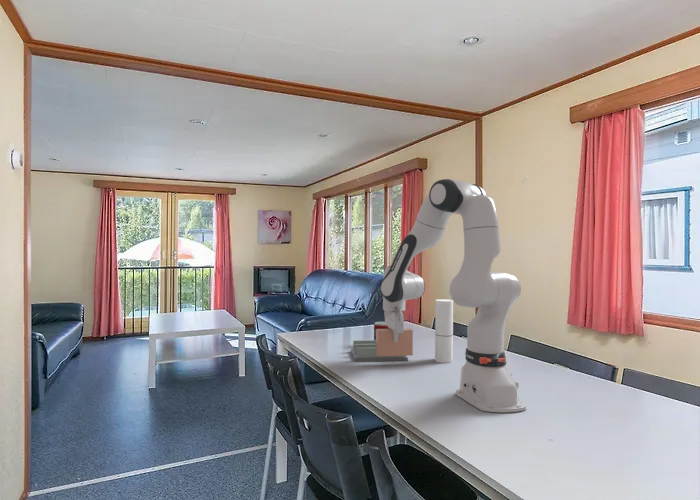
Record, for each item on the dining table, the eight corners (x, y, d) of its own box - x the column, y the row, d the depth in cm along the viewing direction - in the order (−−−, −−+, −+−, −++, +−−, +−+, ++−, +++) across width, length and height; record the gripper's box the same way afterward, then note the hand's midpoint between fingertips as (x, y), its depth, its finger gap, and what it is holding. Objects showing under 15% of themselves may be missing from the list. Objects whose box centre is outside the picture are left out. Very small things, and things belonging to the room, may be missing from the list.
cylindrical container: (451, 358, 181) (451, 299, 180) (453, 363, 174) (454, 301, 173) (434, 358, 181) (434, 299, 181) (435, 362, 174) (436, 301, 174)
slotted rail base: (407, 360, 176) (408, 348, 176) (354, 361, 174) (355, 349, 174) (399, 350, 193) (399, 339, 193) (350, 351, 191) (350, 340, 191)
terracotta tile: (412, 355, 170) (412, 330, 170) (377, 356, 168) (377, 330, 168) (410, 353, 173) (410, 328, 174) (376, 353, 172) (376, 328, 172)
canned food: (371, 345, 204) (371, 322, 204) (385, 343, 207) (385, 321, 207) (378, 348, 197) (379, 324, 197) (393, 347, 200) (394, 323, 200)
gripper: (408, 308, 161) (408, 345, 161) (396, 302, 181) (396, 335, 181) (391, 309, 160) (391, 346, 160) (381, 302, 181) (381, 335, 181)
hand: (394, 340), depth 171 cm, fingers closed on terracotta tile, 4 cm apart
